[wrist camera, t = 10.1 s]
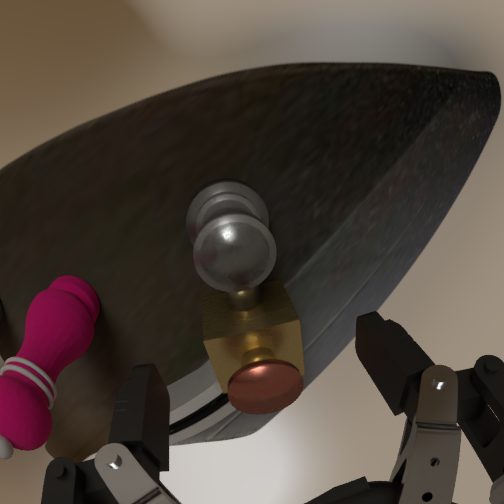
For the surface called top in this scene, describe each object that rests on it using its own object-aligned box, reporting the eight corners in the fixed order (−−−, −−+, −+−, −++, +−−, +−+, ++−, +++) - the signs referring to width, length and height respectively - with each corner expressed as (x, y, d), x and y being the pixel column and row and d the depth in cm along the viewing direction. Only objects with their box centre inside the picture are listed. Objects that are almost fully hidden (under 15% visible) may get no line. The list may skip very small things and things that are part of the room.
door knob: (189, 199, 24) (183, 226, 17) (252, 185, 24) (269, 207, 18) (204, 256, 26) (204, 299, 20) (262, 243, 26) (281, 282, 20)
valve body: (218, 347, 33) (226, 424, 23) (173, 189, 25) (153, 229, 15) (287, 331, 33) (316, 404, 23) (263, 170, 26) (299, 198, 16)
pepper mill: (41, 306, 28) (-37, 444, 9) (56, 257, 26) (-53, 403, 8) (93, 337, 30) (43, 491, 12) (114, 292, 28) (49, 468, 10)
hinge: (162, 419, 37) (139, 464, 27) (140, 396, 37) (111, 438, 27) (257, 371, 35) (253, 420, 25) (234, 343, 35) (223, 387, 25)
